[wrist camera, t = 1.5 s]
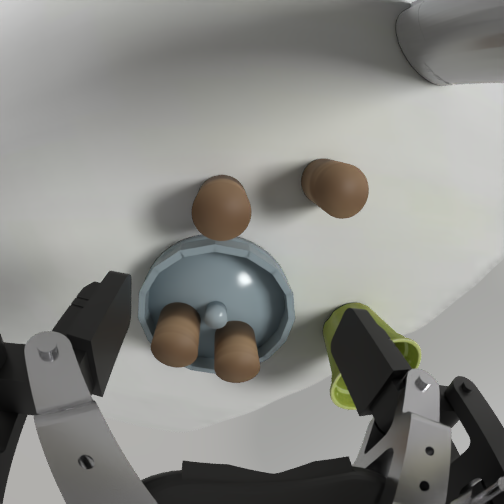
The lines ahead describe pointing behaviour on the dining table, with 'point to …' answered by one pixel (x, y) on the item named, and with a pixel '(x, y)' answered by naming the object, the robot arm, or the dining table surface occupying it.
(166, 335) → the seated bead
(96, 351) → the robot arm
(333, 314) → the plant pot
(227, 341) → the seated bead
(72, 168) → the dining table surface
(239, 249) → the grey-blue shallow round dish
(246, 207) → the brown rounded dome
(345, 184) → the pile bead
